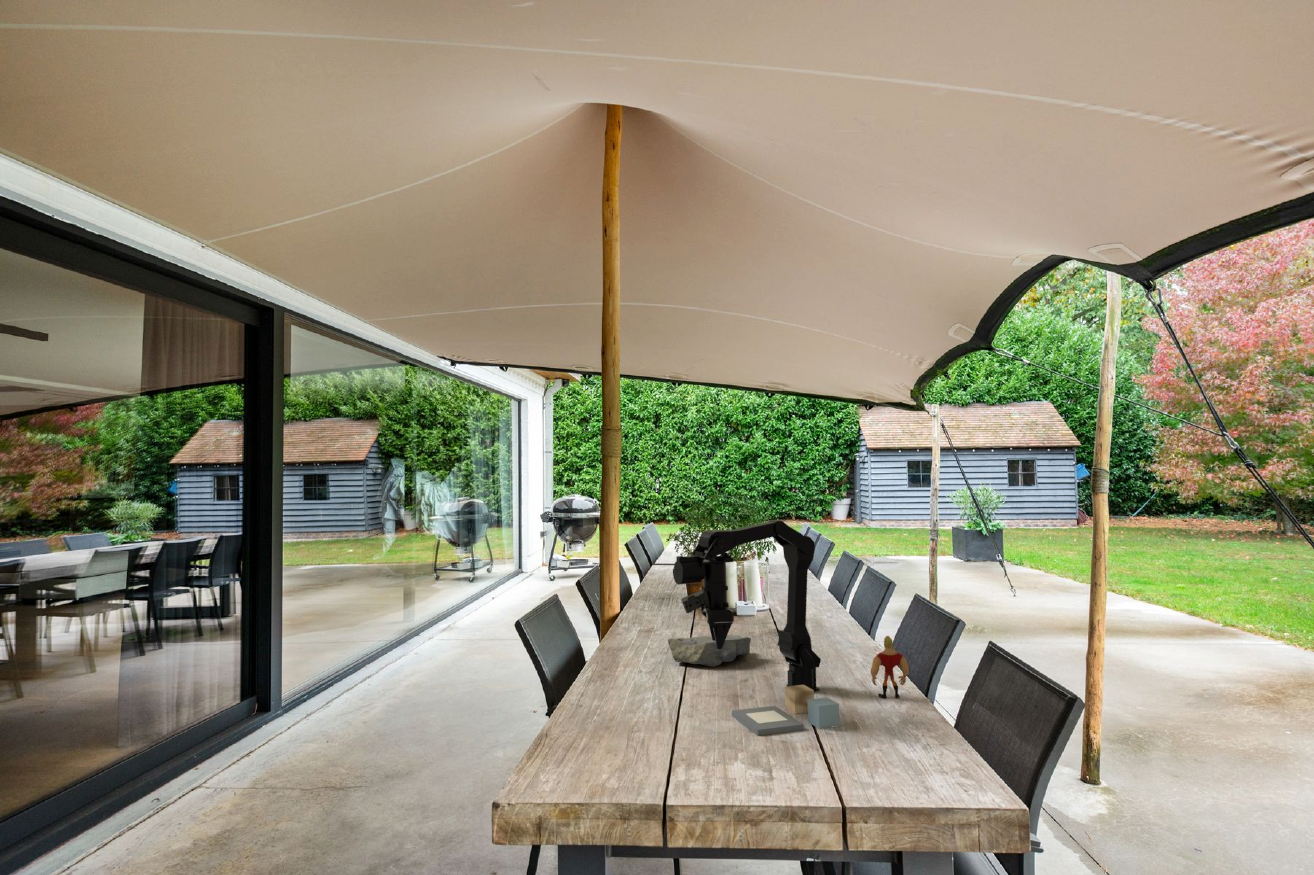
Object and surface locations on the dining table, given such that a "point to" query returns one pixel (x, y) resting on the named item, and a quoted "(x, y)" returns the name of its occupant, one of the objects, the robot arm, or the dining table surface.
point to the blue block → (823, 712)
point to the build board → (767, 720)
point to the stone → (708, 649)
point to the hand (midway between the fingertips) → (717, 644)
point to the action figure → (889, 666)
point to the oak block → (798, 698)
